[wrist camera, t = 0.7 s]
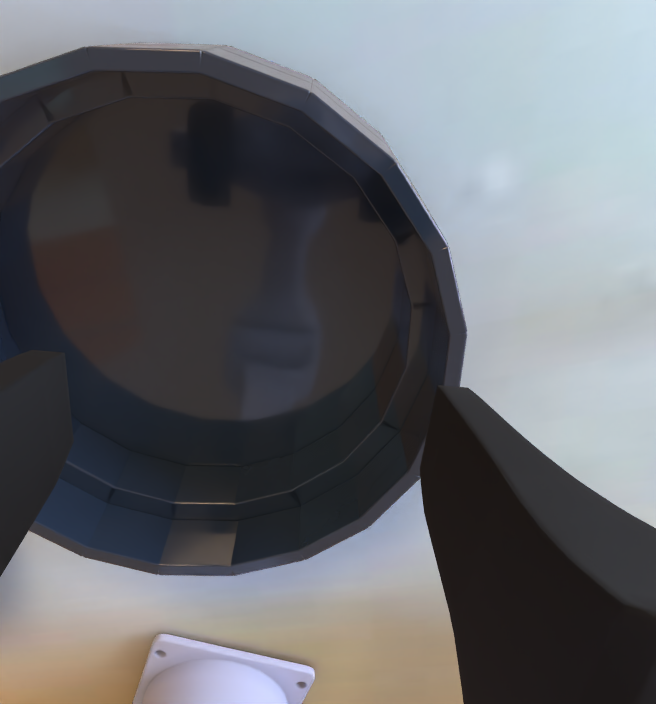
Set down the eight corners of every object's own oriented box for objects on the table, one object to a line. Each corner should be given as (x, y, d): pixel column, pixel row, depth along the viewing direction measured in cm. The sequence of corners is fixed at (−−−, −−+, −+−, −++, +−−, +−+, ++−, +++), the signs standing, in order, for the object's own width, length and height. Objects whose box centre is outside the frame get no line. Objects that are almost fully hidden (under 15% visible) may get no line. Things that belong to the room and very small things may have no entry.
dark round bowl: (342, 521, 26) (345, 621, 22) (-49, 417, 24) (-135, 505, 19) (516, 154, 20) (573, 190, 15) (-7, -47, 17) (-124, -75, 13)
